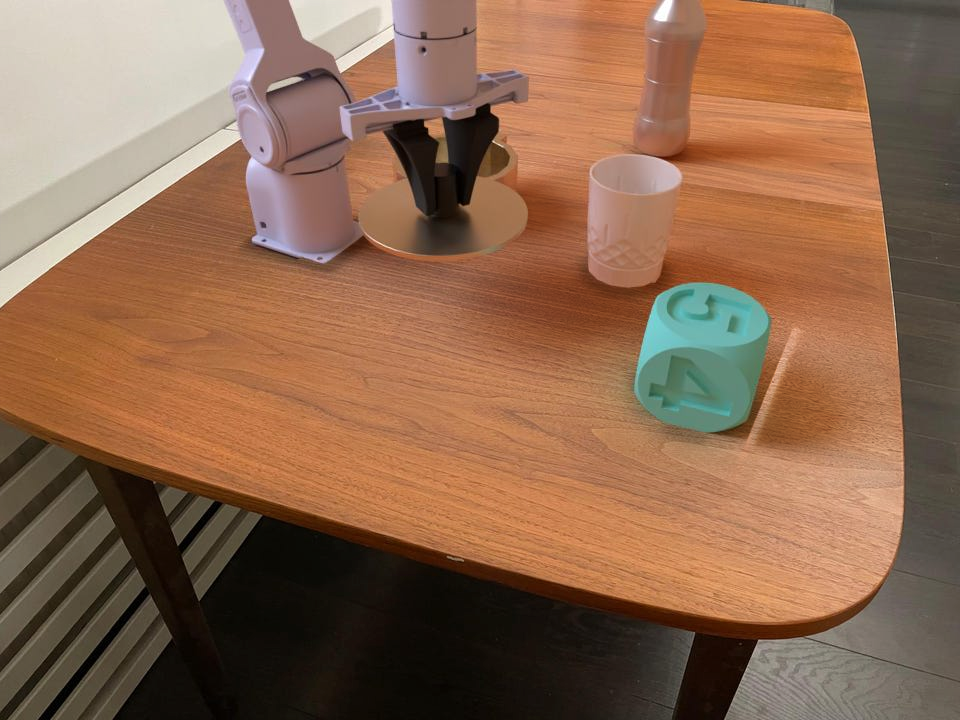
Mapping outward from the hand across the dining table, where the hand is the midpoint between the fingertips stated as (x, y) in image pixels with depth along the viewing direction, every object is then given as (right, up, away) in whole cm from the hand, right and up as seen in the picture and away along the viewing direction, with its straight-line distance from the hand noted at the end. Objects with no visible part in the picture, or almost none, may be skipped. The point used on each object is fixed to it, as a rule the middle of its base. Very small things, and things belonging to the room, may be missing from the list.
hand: (442, 205), depth 61 cm
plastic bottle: (+24, +13, +31) cm, 42 cm away
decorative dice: (+19, -15, -3) cm, 25 cm away
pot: (0, +4, +20) cm, 21 cm away
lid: (0, -1, +1) cm, 1 cm away
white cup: (+16, -4, +11) cm, 20 cm away
